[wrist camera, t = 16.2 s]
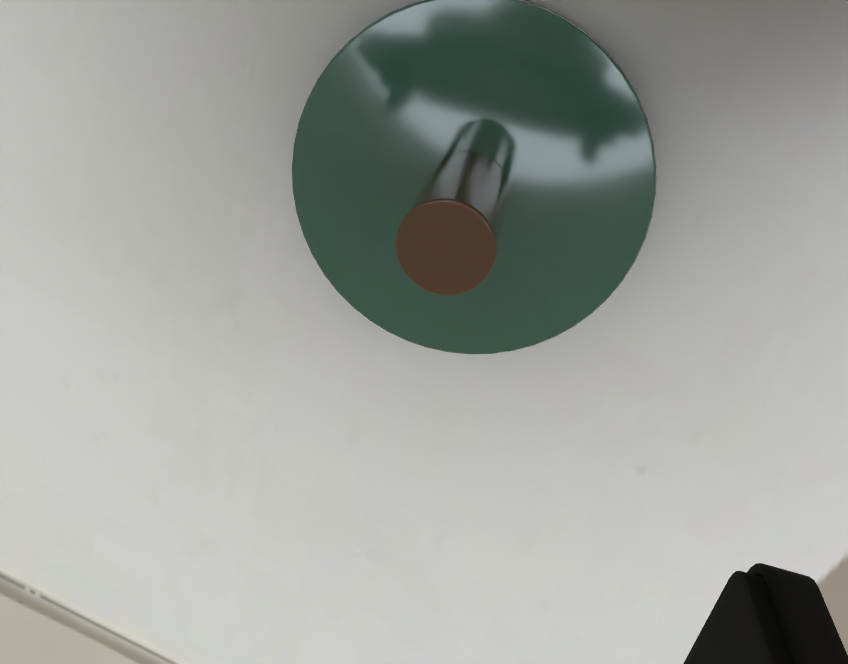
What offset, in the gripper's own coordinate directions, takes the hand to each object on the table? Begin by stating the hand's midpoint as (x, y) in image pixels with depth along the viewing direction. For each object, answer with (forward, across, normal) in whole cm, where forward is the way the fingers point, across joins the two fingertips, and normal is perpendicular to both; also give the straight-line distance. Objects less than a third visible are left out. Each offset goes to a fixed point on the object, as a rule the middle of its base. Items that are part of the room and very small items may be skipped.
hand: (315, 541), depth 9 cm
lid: (+16, 0, 0) cm, 16 cm away
